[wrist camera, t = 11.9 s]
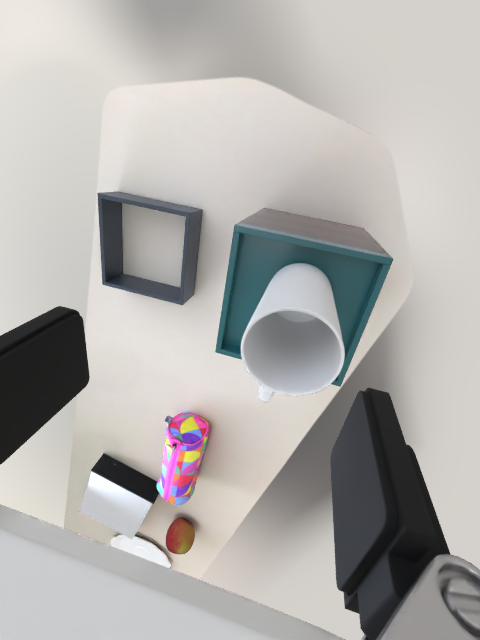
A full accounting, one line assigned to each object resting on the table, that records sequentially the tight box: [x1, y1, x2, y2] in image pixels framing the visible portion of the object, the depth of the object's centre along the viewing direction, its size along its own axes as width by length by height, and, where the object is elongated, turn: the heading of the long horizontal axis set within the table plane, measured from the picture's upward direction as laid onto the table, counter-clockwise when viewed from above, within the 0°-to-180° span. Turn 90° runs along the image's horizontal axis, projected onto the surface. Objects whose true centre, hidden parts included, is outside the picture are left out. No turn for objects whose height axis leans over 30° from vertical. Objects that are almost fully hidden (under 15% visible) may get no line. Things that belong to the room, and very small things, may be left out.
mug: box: [241, 263, 345, 402], centre depth 25 cm, size 10×7×12 cm, turn 160°
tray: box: [215, 222, 393, 386], centre depth 30 cm, size 14×14×2 cm
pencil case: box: [157, 413, 209, 505], centre depth 64 cm, size 22×9×9 cm, turn 169°
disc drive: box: [79, 454, 159, 539], centre depth 80 cm, size 18×22×5 cm
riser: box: [241, 208, 388, 254], centre depth 38 cm, size 14×14×16 cm
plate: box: [110, 535, 171, 568], centre depth 94 cm, size 21×21×2 cm
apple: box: [166, 518, 195, 554], centre depth 79 cm, size 8×8×8 cm
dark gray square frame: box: [98, 192, 202, 305], centre depth 47 cm, size 14×14×5 cm
